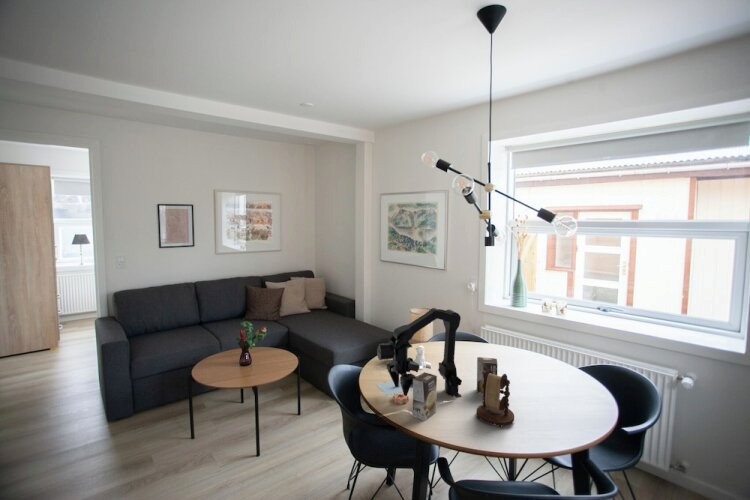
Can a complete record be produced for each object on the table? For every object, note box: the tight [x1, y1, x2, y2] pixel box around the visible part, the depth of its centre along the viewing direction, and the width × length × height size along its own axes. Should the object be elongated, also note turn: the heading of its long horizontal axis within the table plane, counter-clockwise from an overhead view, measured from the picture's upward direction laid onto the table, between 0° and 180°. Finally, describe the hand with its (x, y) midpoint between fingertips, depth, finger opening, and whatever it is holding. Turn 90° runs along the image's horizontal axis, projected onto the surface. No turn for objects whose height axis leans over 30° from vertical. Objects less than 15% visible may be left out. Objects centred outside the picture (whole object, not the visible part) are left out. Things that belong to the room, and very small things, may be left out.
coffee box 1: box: [411, 372, 438, 422], centre depth 154 cm, size 9×6×16 cm
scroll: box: [476, 369, 515, 429], centre depth 150 cm, size 15×15×20 cm
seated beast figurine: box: [413, 345, 433, 371], centre depth 202 cm, size 10×9×12 cm
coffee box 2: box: [476, 356, 498, 397], centre depth 172 cm, size 9×6×16 cm
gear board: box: [376, 379, 413, 396], centre depth 178 cm, size 12×22×1 cm, turn 112°
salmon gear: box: [392, 392, 409, 405], centre depth 164 cm, size 7×7×3 cm
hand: (400, 391), depth 164 cm, fingers open, 9 cm apart
